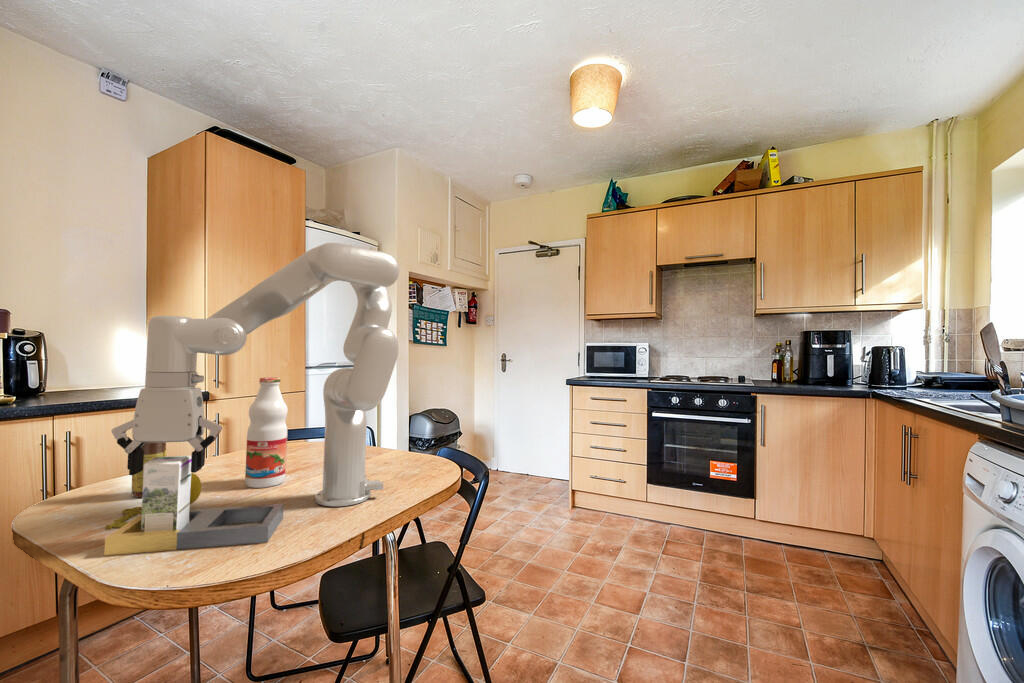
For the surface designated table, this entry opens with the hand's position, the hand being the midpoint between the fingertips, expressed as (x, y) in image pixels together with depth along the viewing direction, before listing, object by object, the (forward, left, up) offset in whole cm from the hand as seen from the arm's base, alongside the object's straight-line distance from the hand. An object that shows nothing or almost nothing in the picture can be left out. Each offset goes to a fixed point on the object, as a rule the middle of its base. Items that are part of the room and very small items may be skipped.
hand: (166, 471), depth 81 cm
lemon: (+3, -16, -12) cm, 21 cm away
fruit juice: (-9, -32, -12) cm, 36 cm away
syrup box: (0, 0, -12) cm, 12 cm away
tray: (-6, 0, -12) cm, 14 cm away
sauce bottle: (+15, -27, -12) cm, 34 cm away
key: (+12, -12, -13) cm, 21 cm away
